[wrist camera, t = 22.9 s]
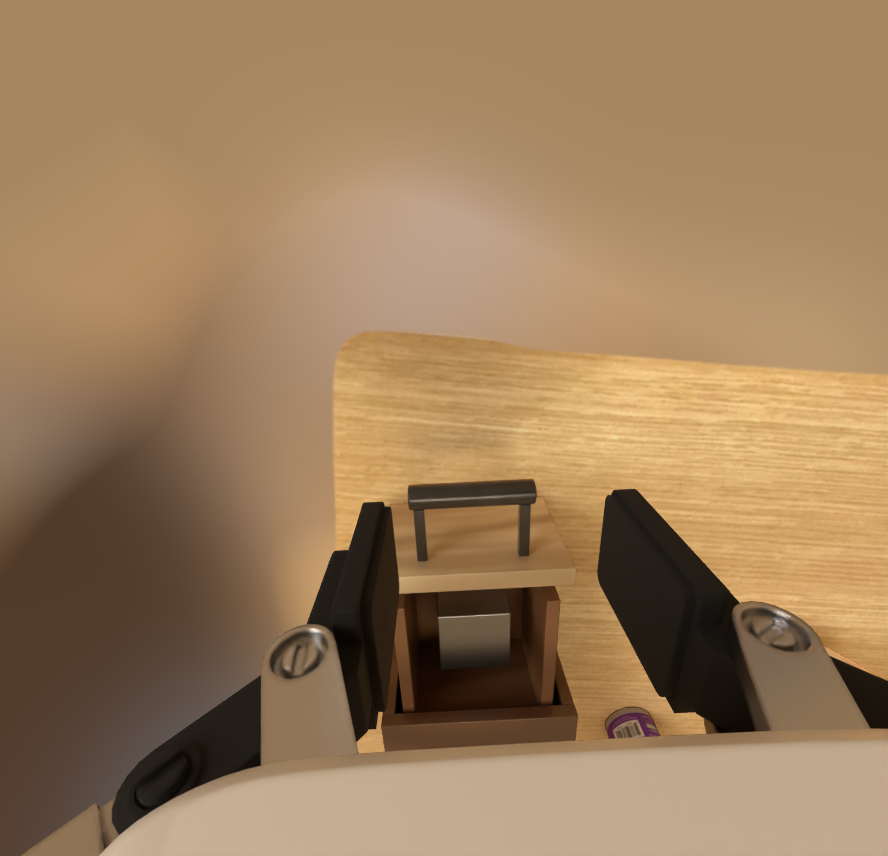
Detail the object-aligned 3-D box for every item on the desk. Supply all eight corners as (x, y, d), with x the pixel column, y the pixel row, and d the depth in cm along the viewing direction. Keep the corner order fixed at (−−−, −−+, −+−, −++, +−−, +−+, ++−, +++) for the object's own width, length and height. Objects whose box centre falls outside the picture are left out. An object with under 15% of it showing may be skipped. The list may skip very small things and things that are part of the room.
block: (440, 670, 28) (437, 617, 26) (440, 615, 33) (437, 567, 31) (510, 666, 28) (511, 613, 26) (499, 612, 33) (500, 563, 31)
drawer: (381, 443, 28) (363, 503, 21) (545, 435, 28) (583, 491, 21) (403, 640, 35) (395, 736, 28) (535, 633, 35) (562, 728, 28)
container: (601, 738, 42) (685, 975, 28) (609, 707, 40) (703, 942, 26) (646, 738, 42) (753, 974, 28) (656, 706, 40) (775, 940, 26)
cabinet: (394, 609, 35) (381, 726, 26) (541, 602, 35) (578, 716, 26) (408, 723, 40) (400, 853, 31) (535, 717, 40) (564, 844, 31)
